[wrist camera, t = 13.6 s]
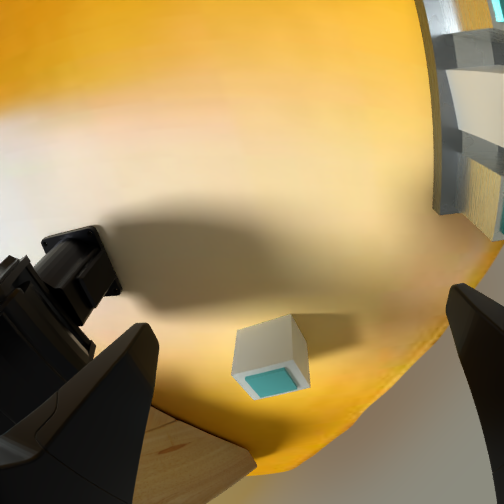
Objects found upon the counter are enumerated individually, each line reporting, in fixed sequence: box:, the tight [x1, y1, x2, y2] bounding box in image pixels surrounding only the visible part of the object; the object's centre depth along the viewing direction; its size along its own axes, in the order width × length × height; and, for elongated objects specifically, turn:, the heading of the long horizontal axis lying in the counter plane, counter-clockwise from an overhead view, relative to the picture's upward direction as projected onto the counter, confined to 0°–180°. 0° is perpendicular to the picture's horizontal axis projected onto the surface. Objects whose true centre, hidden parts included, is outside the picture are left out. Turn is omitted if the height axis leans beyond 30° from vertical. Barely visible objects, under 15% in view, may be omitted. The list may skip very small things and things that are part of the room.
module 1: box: [231, 314, 310, 400], centre depth 25 cm, size 5×4×5 cm
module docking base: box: [414, 0, 504, 242], centre depth 12 cm, size 7×17×6 cm, turn 11°
